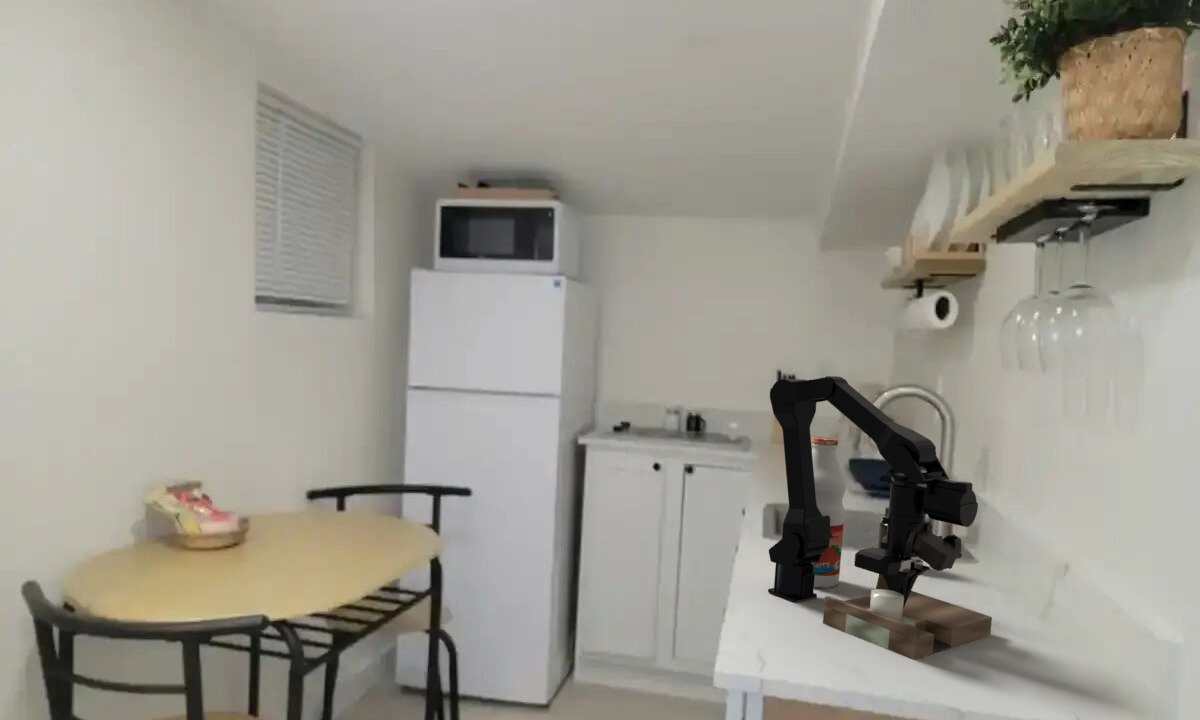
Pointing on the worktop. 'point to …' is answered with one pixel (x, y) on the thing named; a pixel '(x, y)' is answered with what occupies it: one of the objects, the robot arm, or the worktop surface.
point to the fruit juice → (828, 507)
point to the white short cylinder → (887, 603)
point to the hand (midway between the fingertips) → (899, 607)
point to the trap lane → (908, 624)
